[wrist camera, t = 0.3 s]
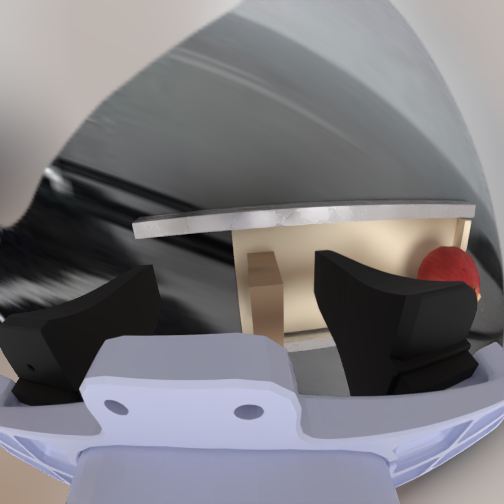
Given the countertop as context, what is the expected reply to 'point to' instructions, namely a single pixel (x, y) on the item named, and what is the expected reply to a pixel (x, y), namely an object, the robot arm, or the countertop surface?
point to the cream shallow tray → (303, 257)
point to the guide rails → (298, 216)
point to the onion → (450, 267)
